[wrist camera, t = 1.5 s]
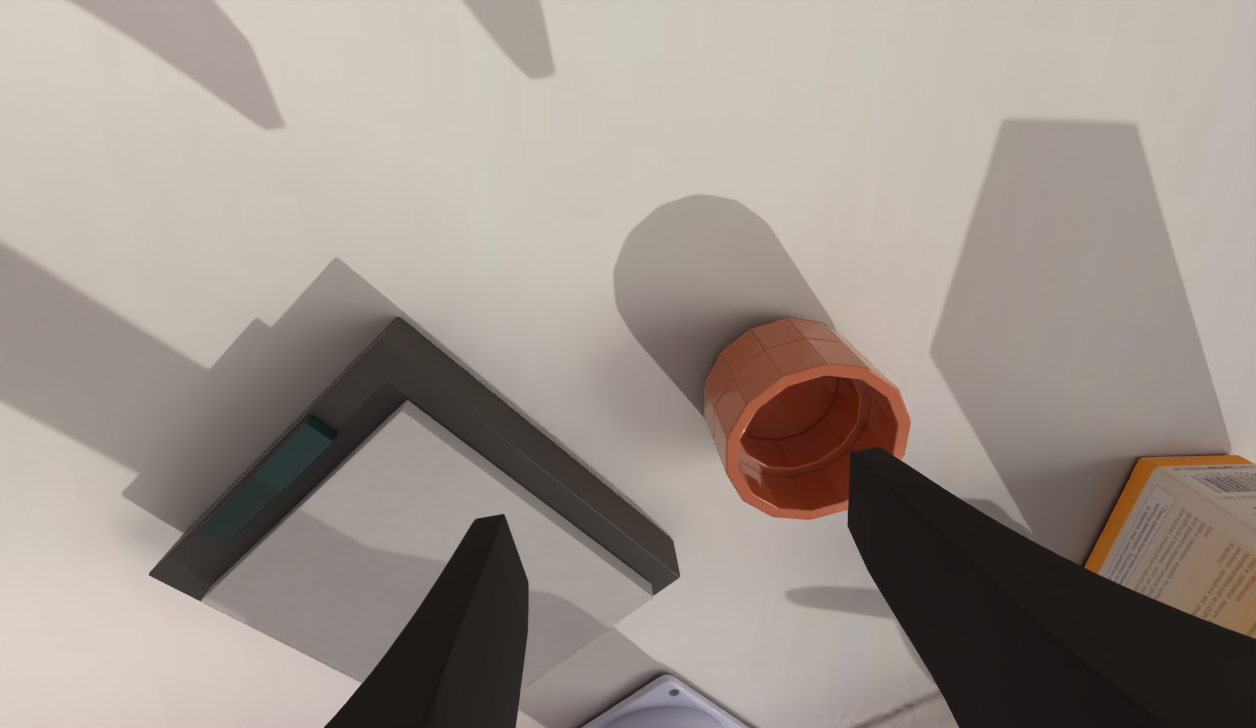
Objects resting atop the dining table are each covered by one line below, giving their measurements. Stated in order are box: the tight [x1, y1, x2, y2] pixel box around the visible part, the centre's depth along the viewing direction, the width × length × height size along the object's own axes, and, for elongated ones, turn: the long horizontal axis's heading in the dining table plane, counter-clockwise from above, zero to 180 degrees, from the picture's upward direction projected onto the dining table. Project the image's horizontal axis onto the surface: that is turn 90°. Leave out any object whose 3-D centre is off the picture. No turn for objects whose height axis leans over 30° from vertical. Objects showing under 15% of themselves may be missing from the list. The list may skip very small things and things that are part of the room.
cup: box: [704, 318, 911, 520], centre depth 19 cm, size 6×6×4 cm
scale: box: [149, 317, 680, 689], centre depth 21 cm, size 14×13×3 cm
